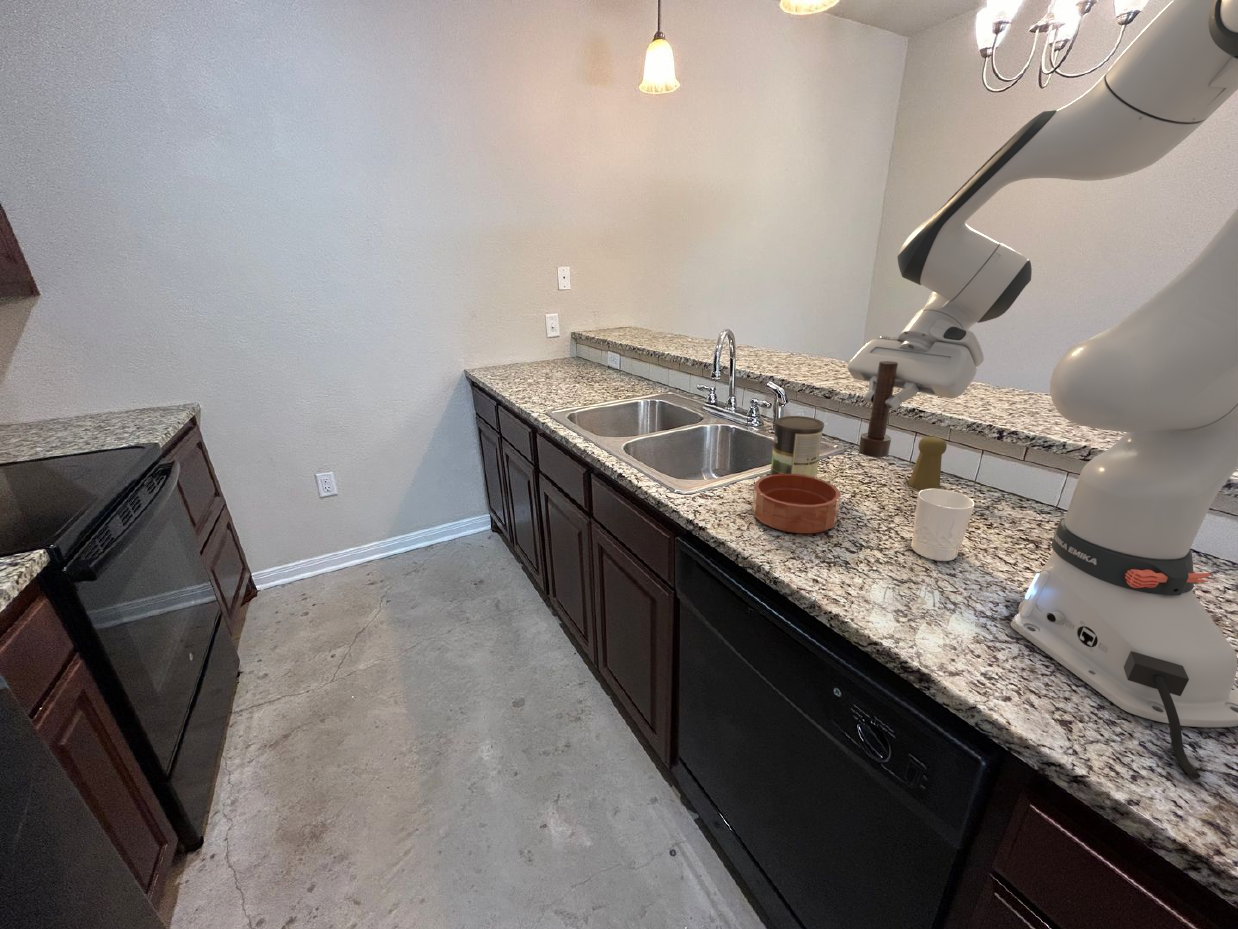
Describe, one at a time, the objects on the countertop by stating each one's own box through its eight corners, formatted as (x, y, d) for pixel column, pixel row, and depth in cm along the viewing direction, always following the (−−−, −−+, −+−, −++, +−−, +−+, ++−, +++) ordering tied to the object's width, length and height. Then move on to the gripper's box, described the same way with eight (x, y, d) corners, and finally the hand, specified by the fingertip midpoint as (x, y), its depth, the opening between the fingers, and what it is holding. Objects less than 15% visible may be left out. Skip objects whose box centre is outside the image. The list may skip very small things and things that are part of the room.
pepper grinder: (931, 480, 113) (941, 434, 109) (945, 491, 108) (956, 442, 104) (903, 479, 114) (912, 433, 110) (915, 490, 108) (925, 442, 104)
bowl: (849, 536, 91) (853, 506, 88) (762, 536, 91) (765, 506, 89) (820, 499, 105) (823, 473, 103) (745, 499, 106) (747, 473, 104)
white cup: (950, 569, 80) (964, 513, 76) (899, 550, 86) (910, 497, 82) (967, 552, 85) (982, 498, 81) (918, 535, 90) (929, 484, 87)
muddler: (893, 457, 86) (910, 364, 81) (865, 457, 87) (880, 365, 81) (880, 448, 91) (896, 359, 85) (854, 448, 91) (867, 360, 85)
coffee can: (765, 485, 113) (771, 425, 107) (773, 469, 121) (779, 413, 116) (813, 492, 108) (821, 431, 103) (818, 476, 117) (826, 418, 112)
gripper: (868, 324, 93) (823, 381, 92) (984, 334, 75) (929, 405, 75) (881, 346, 96) (837, 402, 96) (995, 361, 79) (942, 429, 78)
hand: (879, 404), depth 85 cm, fingers closed on muddler, 3 cm apart
